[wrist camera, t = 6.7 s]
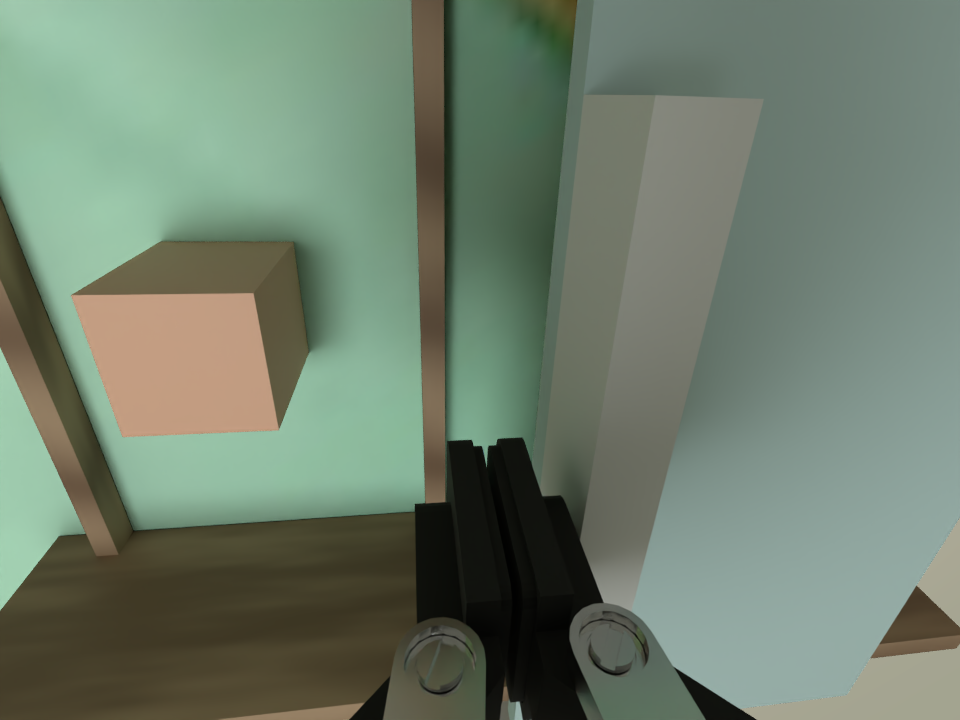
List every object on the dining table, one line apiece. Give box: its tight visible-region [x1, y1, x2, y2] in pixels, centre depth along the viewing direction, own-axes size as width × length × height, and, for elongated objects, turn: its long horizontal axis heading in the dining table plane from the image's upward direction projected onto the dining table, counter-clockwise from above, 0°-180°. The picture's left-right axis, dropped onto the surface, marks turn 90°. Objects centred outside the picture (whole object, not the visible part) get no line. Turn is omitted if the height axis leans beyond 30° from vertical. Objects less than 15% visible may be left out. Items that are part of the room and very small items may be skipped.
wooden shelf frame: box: [0, 0, 960, 720], centre depth 18 cm, size 27×42×10 cm, turn 88°
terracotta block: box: [71, 242, 309, 437], centre depth 19 cm, size 5×5×6 cm
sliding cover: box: [508, 0, 960, 720], centre depth 13 cm, size 27×14×4 cm, turn 178°
